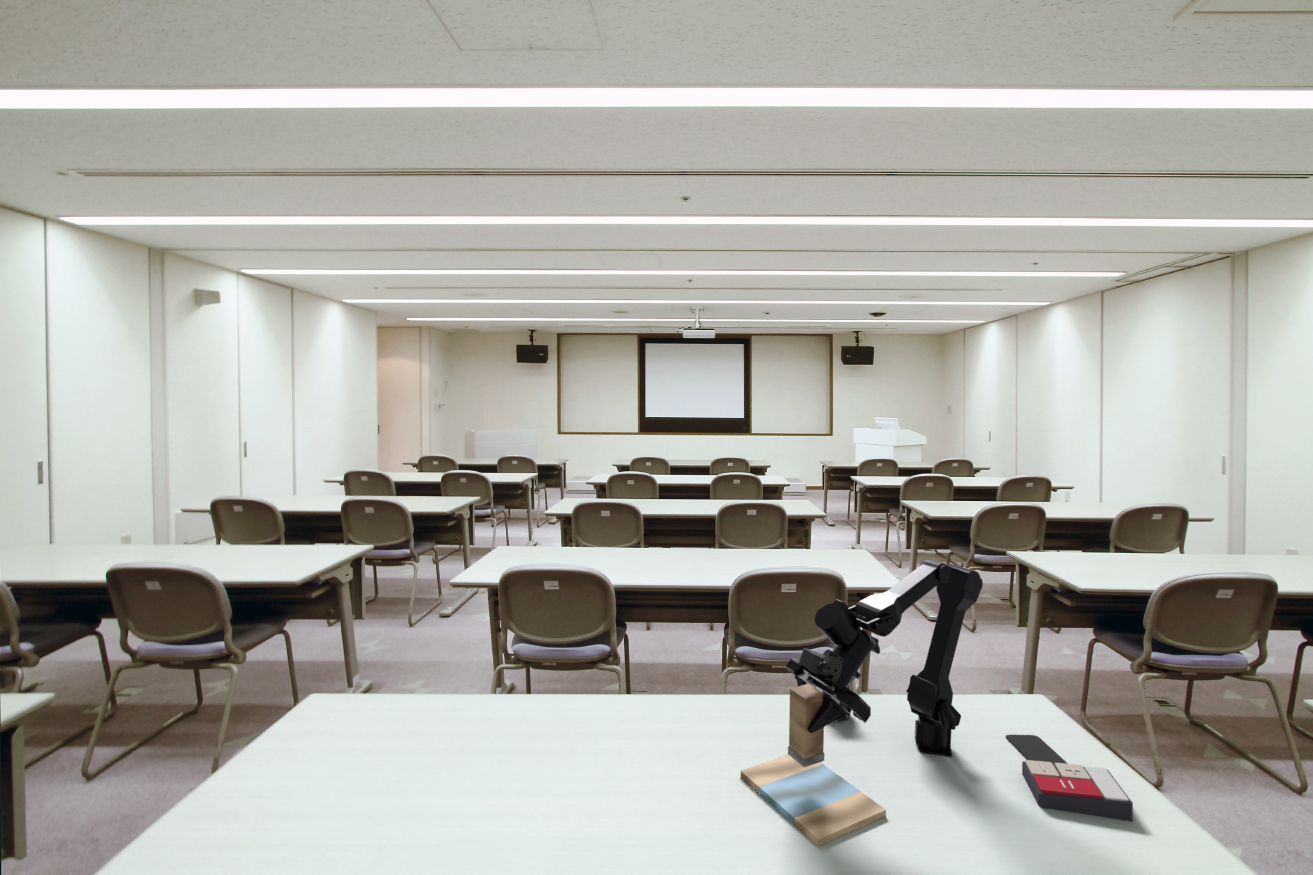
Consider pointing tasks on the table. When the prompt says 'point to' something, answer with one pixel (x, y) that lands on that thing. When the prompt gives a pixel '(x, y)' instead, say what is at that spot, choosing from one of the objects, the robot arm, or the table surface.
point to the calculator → (1077, 789)
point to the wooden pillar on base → (805, 725)
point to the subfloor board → (813, 798)
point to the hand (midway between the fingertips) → (800, 725)
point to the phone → (1034, 748)
